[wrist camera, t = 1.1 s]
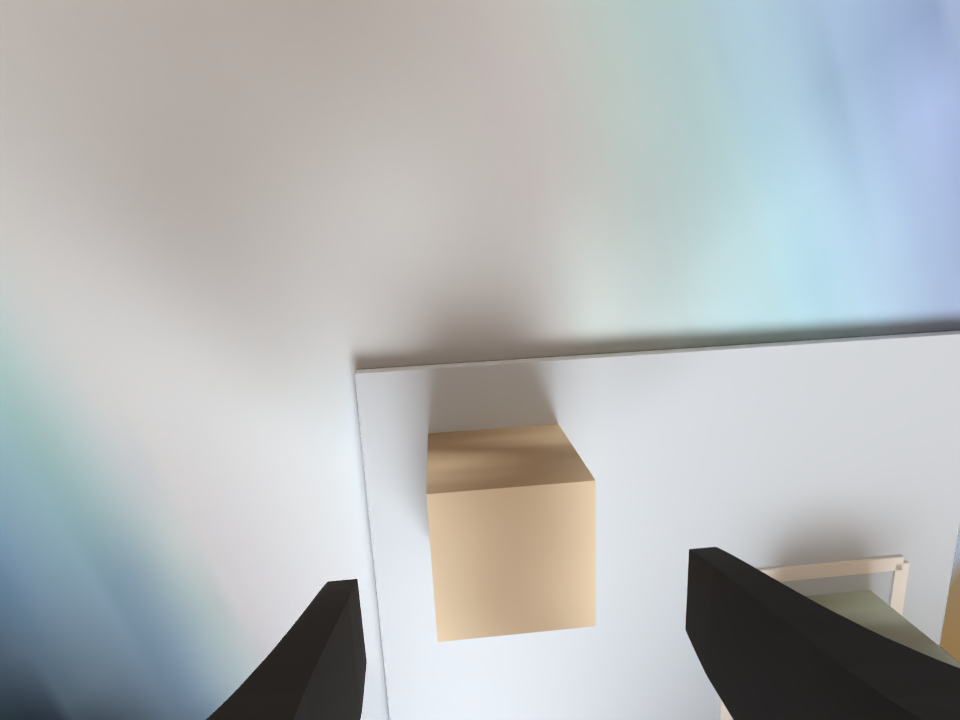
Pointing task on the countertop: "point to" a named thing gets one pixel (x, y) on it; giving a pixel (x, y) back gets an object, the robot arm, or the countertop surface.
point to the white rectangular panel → (672, 506)
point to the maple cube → (510, 532)
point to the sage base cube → (882, 621)
